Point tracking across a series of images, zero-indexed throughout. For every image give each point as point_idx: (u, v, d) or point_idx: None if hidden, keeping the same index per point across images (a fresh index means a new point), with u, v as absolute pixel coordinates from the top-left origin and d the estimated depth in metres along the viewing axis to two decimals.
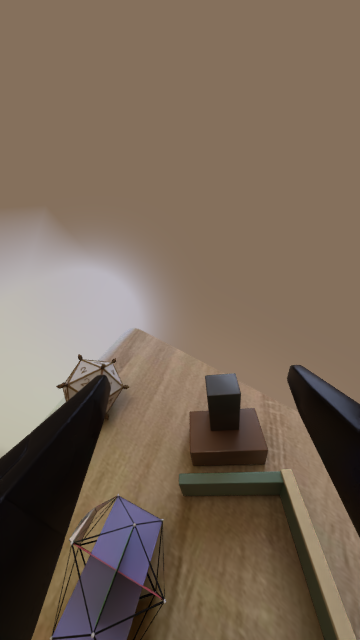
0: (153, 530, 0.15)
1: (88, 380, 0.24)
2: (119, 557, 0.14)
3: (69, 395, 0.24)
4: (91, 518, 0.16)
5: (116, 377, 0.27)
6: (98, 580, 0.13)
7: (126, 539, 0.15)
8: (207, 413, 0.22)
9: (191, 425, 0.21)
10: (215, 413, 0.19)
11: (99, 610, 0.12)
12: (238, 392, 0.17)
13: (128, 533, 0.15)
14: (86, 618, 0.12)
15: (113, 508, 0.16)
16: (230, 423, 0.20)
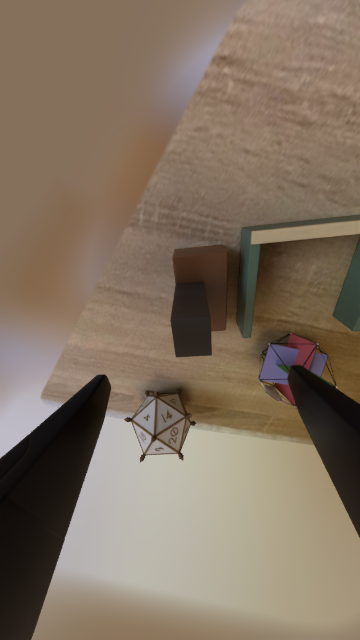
0: (275, 348, 0.20)
1: (170, 439, 0.22)
2: (288, 367, 0.21)
3: (183, 441, 0.24)
4: (266, 387, 0.22)
5: (150, 410, 0.23)
6: None
7: (280, 365, 0.21)
8: None
9: None
10: None
11: None
12: (208, 319, 0.11)
13: (277, 365, 0.21)
14: None
15: (265, 380, 0.21)
16: None
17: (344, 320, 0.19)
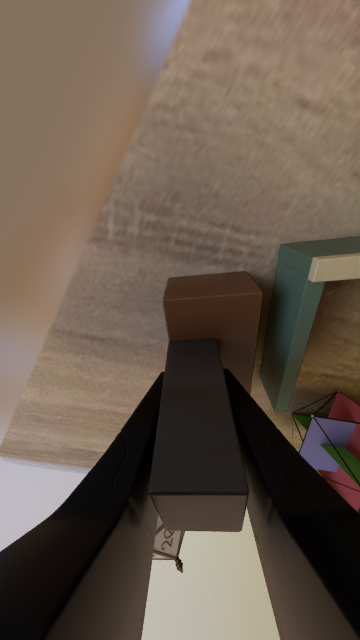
0: (320, 423, 0.14)
1: (164, 543, 0.16)
2: (339, 448, 0.14)
3: (182, 535, 0.17)
4: None
5: None
6: None
7: (327, 446, 0.14)
8: None
9: None
10: None
11: None
12: (242, 497, 0.05)
13: (323, 446, 0.14)
14: None
15: None
16: None
17: None
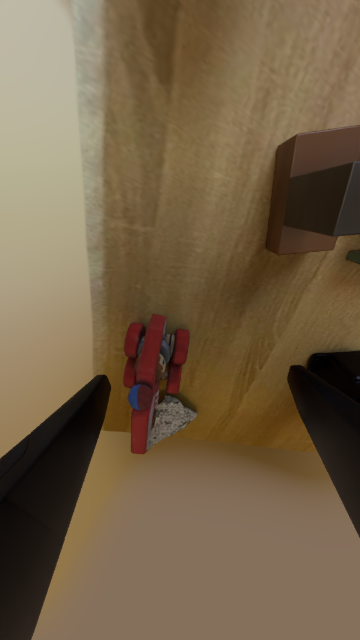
0: None
1: None
2: None
3: None
4: None
5: None
6: None
7: None
8: (287, 227, 0.15)
9: (298, 251, 0.16)
10: None
11: None
12: None
13: None
14: None
15: None
16: None
17: None
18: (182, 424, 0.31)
